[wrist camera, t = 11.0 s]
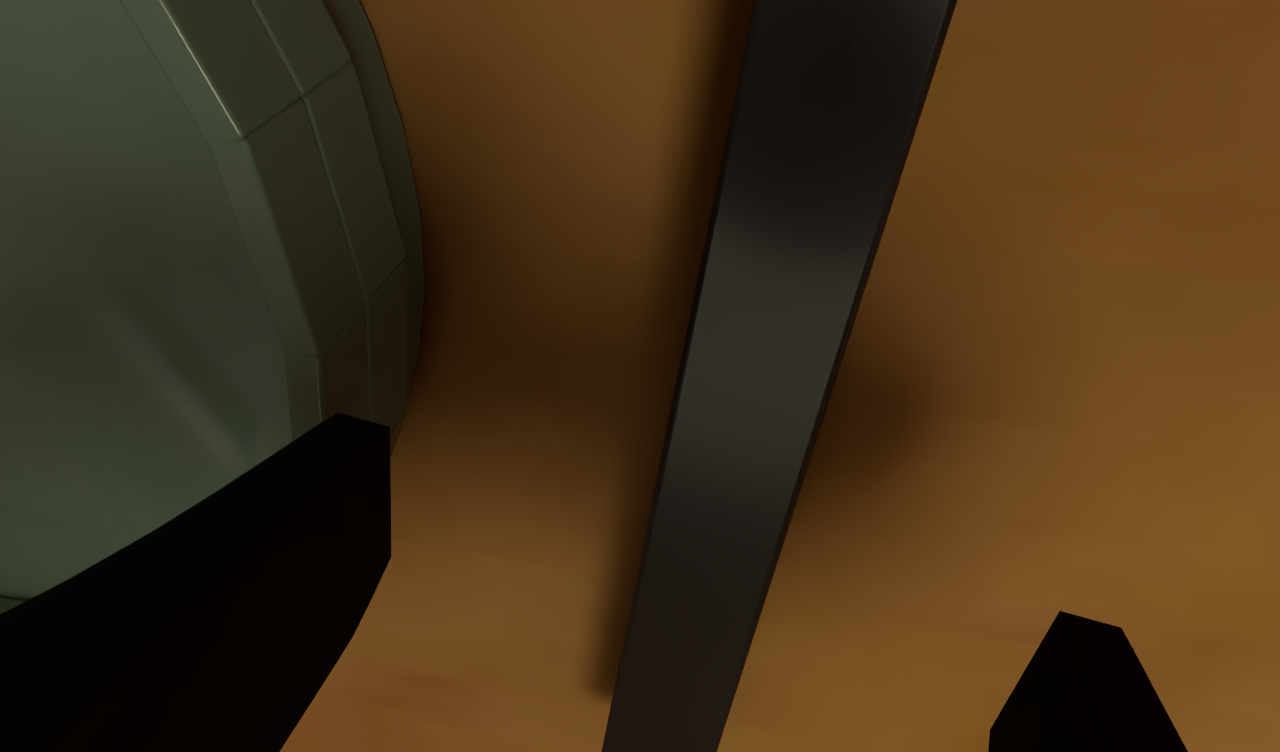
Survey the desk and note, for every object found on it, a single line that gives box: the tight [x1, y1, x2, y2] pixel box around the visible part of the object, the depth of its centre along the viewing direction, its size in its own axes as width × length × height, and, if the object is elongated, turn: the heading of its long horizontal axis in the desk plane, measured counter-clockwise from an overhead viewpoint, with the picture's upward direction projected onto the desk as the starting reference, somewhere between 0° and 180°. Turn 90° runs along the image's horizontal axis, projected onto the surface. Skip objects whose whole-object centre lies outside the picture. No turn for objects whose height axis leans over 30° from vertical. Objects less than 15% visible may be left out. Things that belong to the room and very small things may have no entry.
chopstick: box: [602, 0, 957, 752], centre depth 13 cm, size 2×16×2 cm, turn 172°
